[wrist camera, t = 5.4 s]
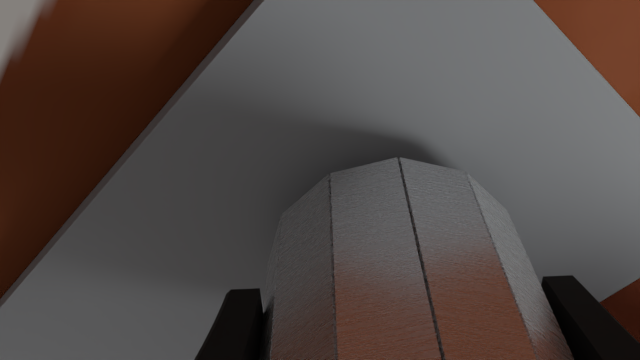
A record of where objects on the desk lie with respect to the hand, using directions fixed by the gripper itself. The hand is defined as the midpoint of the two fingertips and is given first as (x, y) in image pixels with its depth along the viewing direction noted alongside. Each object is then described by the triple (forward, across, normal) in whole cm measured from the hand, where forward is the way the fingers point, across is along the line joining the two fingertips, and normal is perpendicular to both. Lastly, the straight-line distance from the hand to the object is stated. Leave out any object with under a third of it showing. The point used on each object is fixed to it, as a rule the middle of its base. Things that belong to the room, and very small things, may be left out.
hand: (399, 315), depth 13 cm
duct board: (+4, +2, +2) cm, 5 cm away
